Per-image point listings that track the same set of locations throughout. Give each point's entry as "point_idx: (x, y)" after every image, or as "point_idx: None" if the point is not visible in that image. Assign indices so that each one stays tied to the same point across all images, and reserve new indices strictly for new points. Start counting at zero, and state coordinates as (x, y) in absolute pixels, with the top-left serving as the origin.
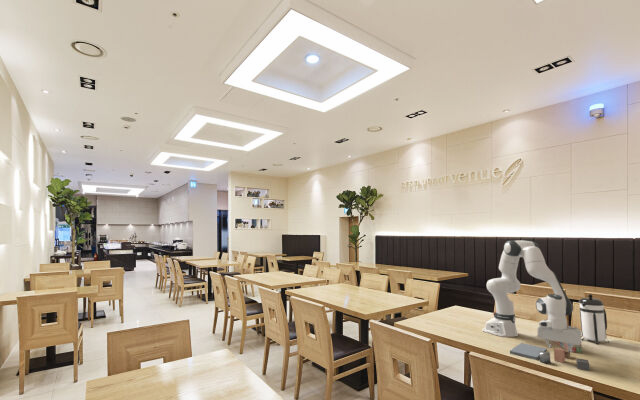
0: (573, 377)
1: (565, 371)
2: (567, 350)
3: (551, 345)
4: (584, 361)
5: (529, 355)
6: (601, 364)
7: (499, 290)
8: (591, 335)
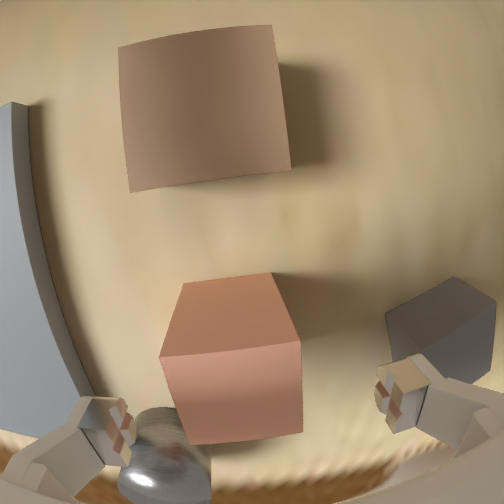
0: (375, 481)
1: (334, 464)
2: (263, 94)
3: (115, 425)
4: (470, 365)
5: None
6: (491, 110)
7: None
8: None
